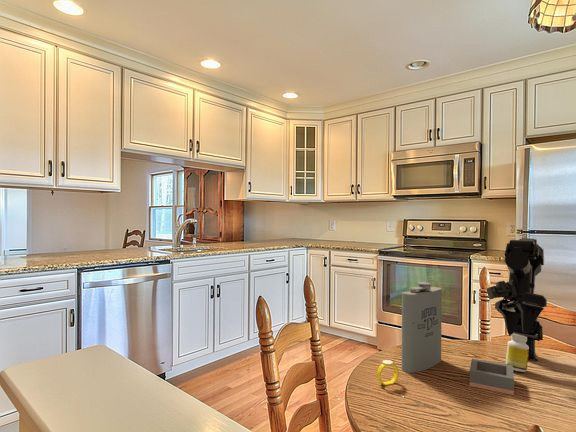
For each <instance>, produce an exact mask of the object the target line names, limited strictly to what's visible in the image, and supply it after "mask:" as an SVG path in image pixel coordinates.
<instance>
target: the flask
mask: <svg viewBox="0 0 576 432" xmlns="http://www.w3.org/2000/svg"><path fill="white" fill-rule="evenodd" d="M417 284H418V285H417V286H412V287H408V288H409V289H408V290H409V291H402V292H401V368H400V369H401V372H403V373H406V374H416V373H419V372H423V371H425V370H428V369H431V368H433V367H435V366H437V365H438V364H439V363H441V362H442V317H443V316H442V313H443V312H442V310H443V309H442V307H443V306H442V303H443V301H442V300H443V299H442V298H443V297H442V295H443V293H442V292H443V291H442V290H443V288H441V287H437V286H432V283H431V282H426V281H418V282H417Z"/></svg>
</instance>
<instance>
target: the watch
mask: <svg viewBox="0 0 576 432" xmlns="http://www.w3.org/2000/svg"><path fill="white" fill-rule="evenodd" d="M386 367H393V368H394V369H393V370H394V374H393V376H392V378H391V379H390V381H389V380H388V381H383V379H382V372H383V370H384V369H385V368H386ZM376 378H377V380H378V382H379V383H380V384H381V385H383V386H390V385H394V384H395V383H396V382H397V381H398V379H399V368H398V367H397V365H396V364H394V362H393V360H390V359H384V360H382V363H381V364H380V365H379V367H378V369H377V372H376Z"/></svg>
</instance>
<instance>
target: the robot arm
mask: <svg viewBox="0 0 576 432" xmlns="http://www.w3.org/2000/svg"><path fill="white" fill-rule="evenodd" d="M504 257H505V258H504V262H505V265H506V267H507V270H508V273H509V274H508V281H507V282H505V280H500V281H499V280H498V281H497V282H496V284H495V285H493V286H489V287H487V288H485V289H486V292H487V296H488V300H493V299H496V298H497V299H498V298H502V299H500V300H497V301H496V302H494V303H495V304H494V309H495V310H497V312H498V313H500V314H501V315H502V317H503V320H504V324H505V328H506V331H507V335H508V336H509V337H511V335H512V334H519V335H523V336H526V337H527V342H526V344H527V345H528V346H529V353H528V361H529V360H531V361H538V357H537V353H536V341H537V342H541V341H544V337H543V336H544V333H543V326H542V325H541V322H540V320H539V319H538V317H539V316H540V314H541V313H542V311H544V308H547V307H548V305H547V304H548V303H547V302H548V299H547V298H546V297H545V296H544V295H542V294H538V293H535V287H536V277H537V276H538V275H539V274H540V273H541V272H542V266H544V265H545V254H544V248H542V247H541V246H540V245H539V244H538V239H535V238H531V237H530V238H529V237H528V238H527V237H526V238H524V237H522V238H519V239H510V240H509V242H507V243H506V247H505V251H504Z"/></svg>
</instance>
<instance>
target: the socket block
mask: <svg viewBox="0 0 576 432" xmlns="http://www.w3.org/2000/svg"><path fill="white" fill-rule="evenodd" d="M469 387H474V388H477V389H478V388H479V389H484V390H489V391H493V392H498V393H502V394H507V395H512V396H514V395H515V374H514V370H513V365H507V364H505V363H501V362H496V361H495V362H494V361H490V360H489V361H488V360H484V359H483V360H482V359H477V358H473V357H472V358H471V362H470V366H469Z"/></svg>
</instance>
